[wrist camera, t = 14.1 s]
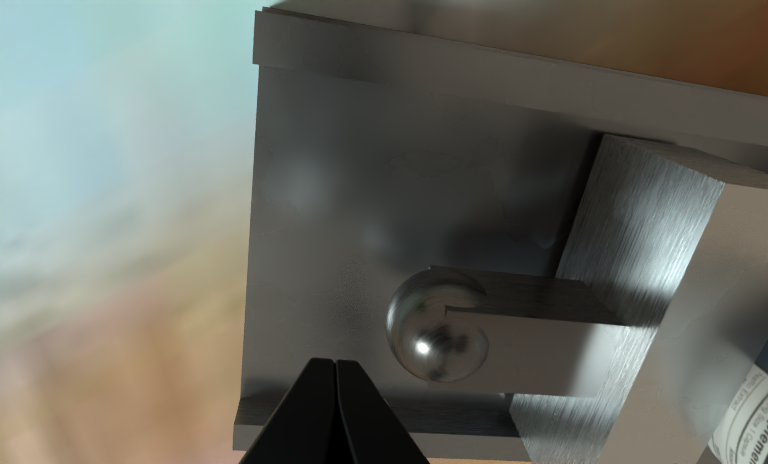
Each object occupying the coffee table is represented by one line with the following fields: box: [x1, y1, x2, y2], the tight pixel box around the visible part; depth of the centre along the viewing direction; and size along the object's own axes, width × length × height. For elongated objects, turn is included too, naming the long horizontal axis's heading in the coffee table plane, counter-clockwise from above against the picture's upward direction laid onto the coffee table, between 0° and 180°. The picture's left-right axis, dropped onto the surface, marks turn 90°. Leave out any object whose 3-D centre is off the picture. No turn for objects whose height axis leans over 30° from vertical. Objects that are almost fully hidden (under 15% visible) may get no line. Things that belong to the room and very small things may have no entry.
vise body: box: [233, 7, 768, 464], centre depth 12 cm, size 12×20×5 cm, turn 81°
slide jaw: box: [385, 134, 768, 464], centre depth 11 cm, size 9×8×4 cm
